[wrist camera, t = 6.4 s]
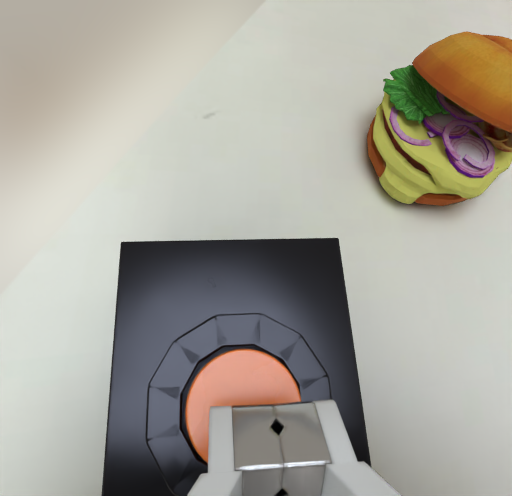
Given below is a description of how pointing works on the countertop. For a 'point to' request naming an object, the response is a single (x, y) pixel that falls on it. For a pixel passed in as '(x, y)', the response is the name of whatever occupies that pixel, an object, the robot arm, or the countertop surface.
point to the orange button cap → (235, 389)
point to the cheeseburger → (445, 121)
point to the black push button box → (219, 344)
